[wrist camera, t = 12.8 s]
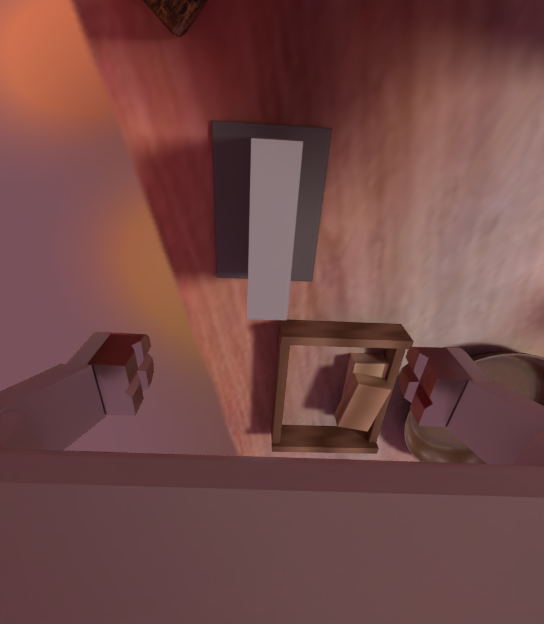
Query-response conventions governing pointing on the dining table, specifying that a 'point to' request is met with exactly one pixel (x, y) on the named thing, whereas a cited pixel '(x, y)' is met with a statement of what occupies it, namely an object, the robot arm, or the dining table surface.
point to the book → (176, 13)
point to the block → (272, 224)
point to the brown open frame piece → (341, 336)
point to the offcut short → (362, 401)
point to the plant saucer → (499, 368)
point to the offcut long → (366, 366)
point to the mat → (236, 193)
